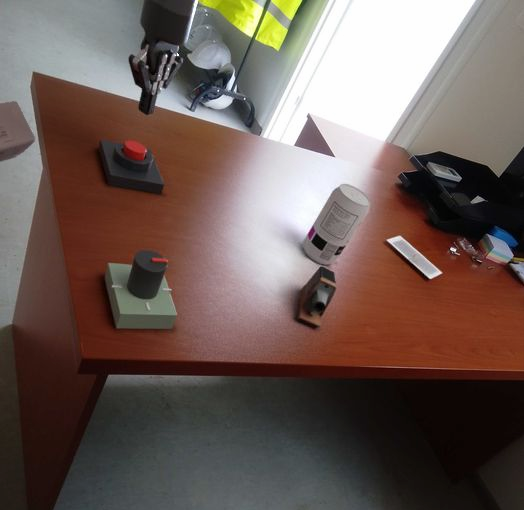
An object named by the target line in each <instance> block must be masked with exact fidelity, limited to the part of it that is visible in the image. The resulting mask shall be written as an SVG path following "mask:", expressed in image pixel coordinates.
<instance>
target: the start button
mask: <svg viewBox="0 0 524 510" xmlns="http://www.w3.org/2000/svg"><path fill="white" fill-rule="evenodd" d="M124 143H125V144H124V149H123V153H124V154H125V155H126V156H128V157H130V158H132V159H135V160H144V158H145V154H146V150H147V148H146V146H145V145H143V144H142V143H141V142H138V141H135V140H130V139H129V140H126V141H124Z"/></svg>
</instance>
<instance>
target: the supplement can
mask: <svg viewBox="0 0 524 510" xmlns="http://www.w3.org/2000/svg"><path fill="white" fill-rule="evenodd" d="M371 204H372V203H371V200H370V198H369V196H368V195H367V194H366V193H365V192H363V191H362V190H361V189H359V188H357V187H356V186H354V185H351V184H348V183H340V184H339V186H337V187H335V188H334V189H333V190H332V191H331V192H330V195H329V197H328V198H327V200H326V202H325V203H324V205H323V207H322V209H321V210H320V212H319V214H318V216H316V219H315V220H314V222H313V224H312V225H311V228H310V229H309V231H308V232H307V234H306V236H305V238H304V240H303V241H302V247H303V251H304V253H305V254H306V255H307V256H308V257H309V258H310V259H311V260H313V261H314V262H316V263H317V264H320V265H325V266H328V265H332V264H333V265H334V264H335V263H336V262H337V260H338V258H339V257H340V255H341V254H342V253H343V251H344V249H346V247H347V245H348V244H349V243H350V240H351V239H352V237H353V236H354V235H355V233H356V231H357V230H358V229H359V227H360V226H361V224H362V223H363V221H364V220H365V218H366V217H367V215H368V214H369V212H370V206H371Z"/></svg>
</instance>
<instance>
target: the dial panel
mask: <svg viewBox="0 0 524 510" xmlns="http://www.w3.org/2000/svg"><path fill="white" fill-rule="evenodd" d="M131 268H132V264H126V263H114V262H107V266H106V271H105V275H104V282H105V286H106V291H107V296H108V299H109V304H110V308H111V312H112V316H113V320H114V326H115V329H131V330H132V329H137V330H138V329H139V330H141V329H143V330H156V329H157V330H172V329H173V328H174V324H175V322H176V319H177V317H178V313H177V310H176V307H175V303H174V301H173V298H172V295H171V292H172V291H173V290H172V288H169V285H168V282H167V280H166V276H165V275H164V277H163V280H162V283H161V285H160V288H159V291H158V294H157V296H156V297H154V298H152V299H141V298H138V297H136V296H134V295H132V294H131V293H130V292H129V290H128V288H127V282H128V279H129V275H130V271H131Z"/></svg>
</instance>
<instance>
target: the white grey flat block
mask: <svg viewBox="0 0 524 510" xmlns="http://www.w3.org/2000/svg"><path fill="white" fill-rule="evenodd" d="M386 241H387V242H388V243H389V244H390V245H391V246H392V247H393V248H394V249H396V250H397V251H398V252H399V253H400V254H401V255H402V256H404V258H405V259H407V260H408V261H409V262H410V263H411V264H413V265H414V266H415V267H416V269H418V270H419V271H420V272H421V273H422V274H424V276H425V277H427V278H428V279H429V280H432V279H434V278H436V277H438V276H440V275H441V274H443V272H442V271H441V270H440V269H439V268H438V267H436V266H435V265H434V264H433V263H432V262H431V261H429V260H428V259H427V257H425V256H424V255H423V254H422V253H421V252H420V251H418V250H417V249H416V248H415V247H414V246H413V245H411V243H409V242H408V241H407V240H406V239H405V238H403V237H402V236H401V235H397V236H394V237H391V238H388V239H386Z"/></svg>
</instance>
